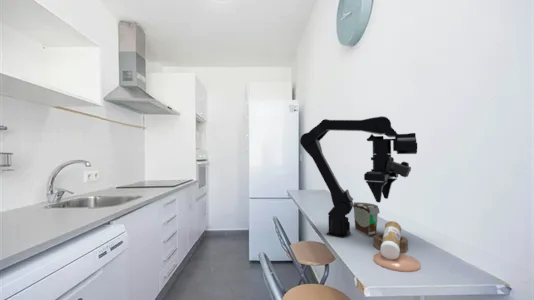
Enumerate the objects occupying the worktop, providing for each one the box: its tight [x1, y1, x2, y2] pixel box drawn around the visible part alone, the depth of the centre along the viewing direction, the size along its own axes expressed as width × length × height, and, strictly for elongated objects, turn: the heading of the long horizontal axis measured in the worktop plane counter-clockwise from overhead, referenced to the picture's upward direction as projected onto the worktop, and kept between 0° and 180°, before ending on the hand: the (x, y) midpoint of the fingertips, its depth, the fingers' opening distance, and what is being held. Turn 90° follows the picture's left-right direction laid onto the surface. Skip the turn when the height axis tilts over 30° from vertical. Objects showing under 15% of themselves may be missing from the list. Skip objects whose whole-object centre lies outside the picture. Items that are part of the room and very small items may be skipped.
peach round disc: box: [373, 251, 421, 273], centre depth 67 cm, size 11×11×1 cm
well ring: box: [372, 232, 409, 254], centre depth 78 cm, size 9×9×3 cm
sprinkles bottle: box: [379, 220, 402, 260], centre depth 72 cm, size 5×5×13 cm
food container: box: [352, 202, 380, 238], centre depth 94 cm, size 12×6×10 cm, turn 9°
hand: (382, 200), depth 86 cm, fingers open, 9 cm apart
